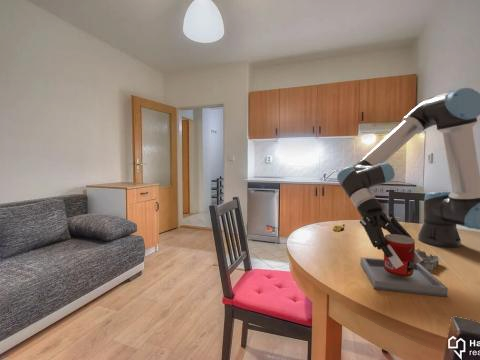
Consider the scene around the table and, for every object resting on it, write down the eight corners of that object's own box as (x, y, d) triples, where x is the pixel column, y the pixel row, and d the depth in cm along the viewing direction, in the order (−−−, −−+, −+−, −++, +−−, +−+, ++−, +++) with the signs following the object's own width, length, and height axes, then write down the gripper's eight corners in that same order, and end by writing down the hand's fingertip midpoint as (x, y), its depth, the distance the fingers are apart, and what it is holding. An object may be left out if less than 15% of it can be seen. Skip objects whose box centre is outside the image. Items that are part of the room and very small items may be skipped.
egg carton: (417, 258, 94) (418, 247, 93) (442, 264, 87) (442, 253, 87) (405, 264, 88) (406, 253, 87) (430, 272, 81) (431, 260, 81)
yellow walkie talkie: (331, 227, 131) (340, 221, 143) (331, 231, 131) (340, 225, 143) (340, 229, 128) (348, 223, 140) (340, 232, 128) (348, 226, 140)
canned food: (414, 279, 72) (415, 243, 71) (383, 273, 76) (384, 238, 75) (412, 269, 78) (413, 236, 77) (383, 264, 83) (384, 232, 82)
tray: (417, 268, 84) (417, 261, 84) (447, 297, 66) (447, 288, 66) (360, 263, 88) (360, 257, 88) (374, 289, 71) (374, 280, 71)
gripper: (380, 207, 94) (422, 264, 80) (338, 212, 87) (376, 275, 73) (393, 195, 88) (441, 254, 75) (350, 199, 81) (393, 265, 67)
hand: (409, 264), depth 74 cm, fingers closed on canned food, 8 cm apart
